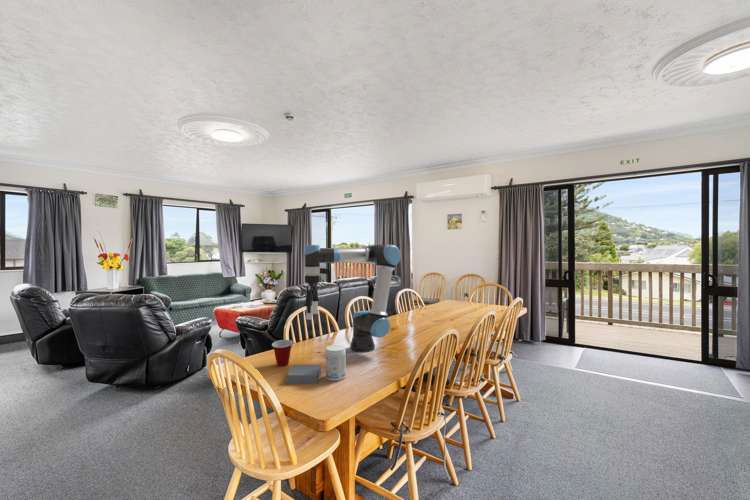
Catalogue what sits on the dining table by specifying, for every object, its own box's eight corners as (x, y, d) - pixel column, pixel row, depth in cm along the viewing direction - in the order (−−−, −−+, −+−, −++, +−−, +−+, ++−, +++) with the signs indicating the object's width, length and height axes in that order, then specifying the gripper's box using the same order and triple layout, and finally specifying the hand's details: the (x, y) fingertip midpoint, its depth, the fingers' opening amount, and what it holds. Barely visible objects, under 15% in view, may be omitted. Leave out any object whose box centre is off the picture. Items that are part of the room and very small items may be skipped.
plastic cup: (267, 367, 180) (267, 344, 179) (279, 360, 190) (279, 338, 190) (285, 369, 176) (285, 346, 176) (296, 362, 186) (296, 340, 186)
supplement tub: (338, 372, 172) (338, 343, 172) (349, 378, 165) (349, 347, 165) (321, 377, 166) (321, 346, 166) (332, 383, 159) (332, 351, 158)
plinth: (321, 372, 172) (321, 364, 172) (316, 383, 158) (316, 375, 158) (293, 372, 172) (293, 364, 172) (286, 383, 158) (286, 375, 158)
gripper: (310, 272, 188) (310, 311, 189) (298, 277, 163) (298, 321, 164) (323, 272, 188) (323, 311, 188) (314, 277, 163) (314, 321, 163)
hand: (312, 316), depth 176 cm, fingers open, 13 cm apart
